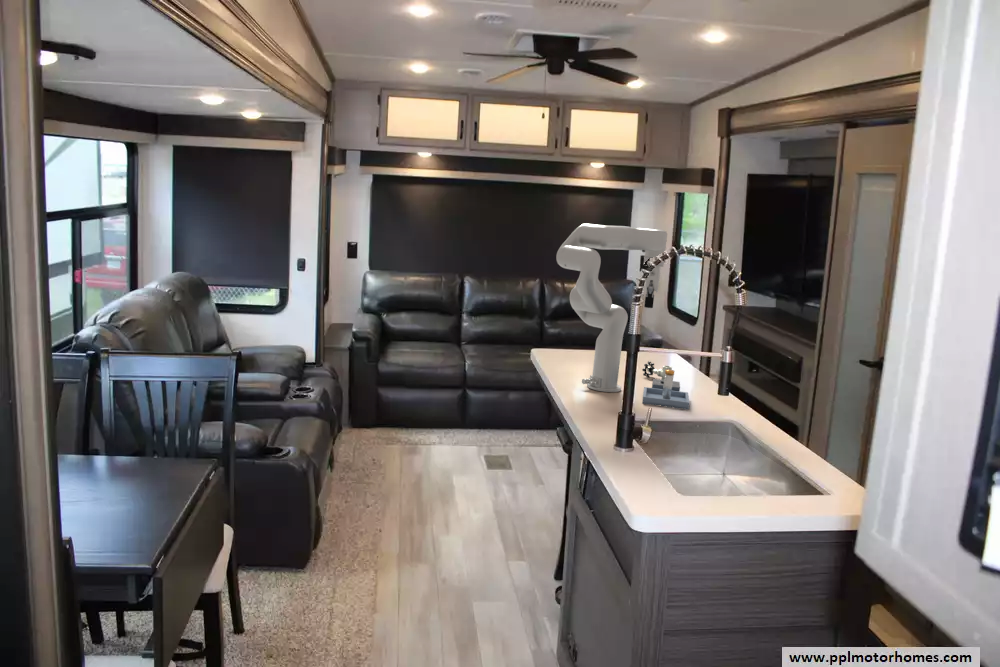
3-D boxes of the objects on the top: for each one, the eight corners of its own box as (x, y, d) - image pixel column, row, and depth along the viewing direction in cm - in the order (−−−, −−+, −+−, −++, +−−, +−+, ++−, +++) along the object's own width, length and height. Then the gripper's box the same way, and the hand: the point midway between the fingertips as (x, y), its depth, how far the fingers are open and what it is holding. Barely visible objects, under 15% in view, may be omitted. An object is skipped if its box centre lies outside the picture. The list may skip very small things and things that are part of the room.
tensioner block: (678, 396, 310) (680, 387, 309) (651, 393, 312) (652, 384, 311) (678, 390, 320) (679, 381, 319) (651, 387, 321) (653, 378, 321)
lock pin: (666, 400, 299) (670, 371, 297) (659, 398, 301) (663, 369, 299) (672, 400, 301) (676, 371, 299) (665, 397, 303) (669, 369, 301)
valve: (675, 383, 333) (652, 376, 342) (677, 367, 332) (654, 360, 341) (664, 384, 329) (641, 377, 338) (666, 368, 328) (643, 361, 337)
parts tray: (688, 409, 292) (689, 402, 292) (642, 403, 295) (643, 396, 294) (687, 399, 308) (688, 392, 307) (643, 393, 310) (644, 386, 310)
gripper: (663, 264, 311) (658, 310, 314) (663, 261, 328) (658, 304, 331) (643, 262, 313) (638, 307, 315) (644, 259, 329) (639, 302, 332)
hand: (648, 306), depth 323 cm, fingers open, 9 cm apart
